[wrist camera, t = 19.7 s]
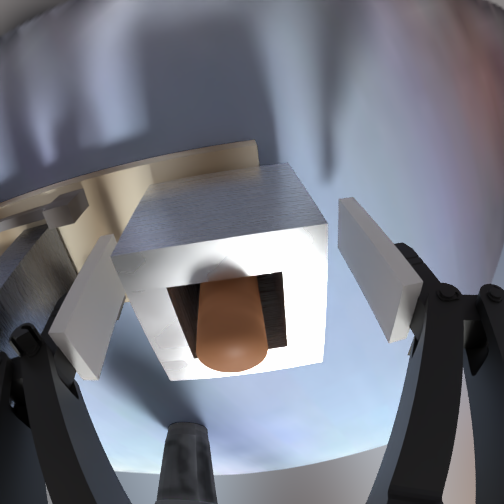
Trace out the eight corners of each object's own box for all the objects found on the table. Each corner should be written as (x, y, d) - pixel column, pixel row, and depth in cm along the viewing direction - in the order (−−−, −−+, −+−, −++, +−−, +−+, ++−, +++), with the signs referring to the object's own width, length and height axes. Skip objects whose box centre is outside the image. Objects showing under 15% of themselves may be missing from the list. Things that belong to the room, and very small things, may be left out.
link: (181, 291, 17) (170, 380, 12) (149, 184, 14) (110, 256, 9) (295, 275, 17) (322, 361, 12) (288, 162, 14) (328, 223, 9)
